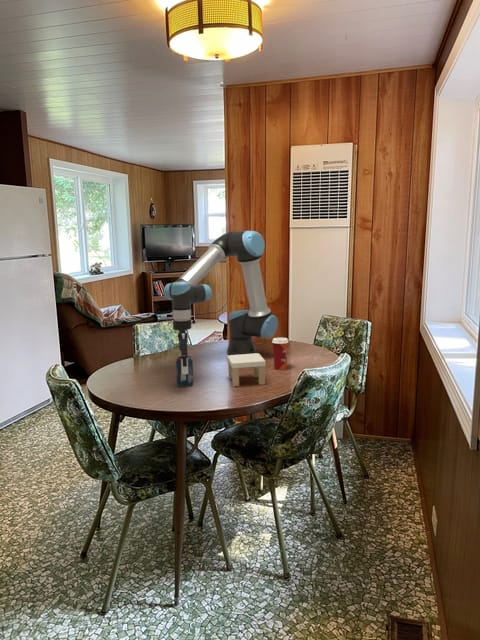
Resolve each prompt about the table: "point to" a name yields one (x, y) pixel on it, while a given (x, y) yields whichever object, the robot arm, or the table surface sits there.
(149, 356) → the table surface
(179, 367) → the soda can
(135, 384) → the table surface
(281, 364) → the paper cup
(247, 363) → the small white stool
